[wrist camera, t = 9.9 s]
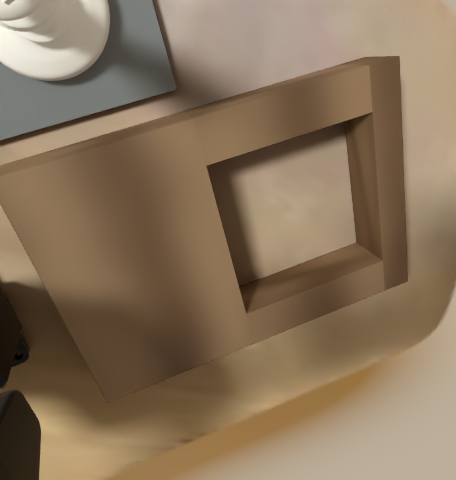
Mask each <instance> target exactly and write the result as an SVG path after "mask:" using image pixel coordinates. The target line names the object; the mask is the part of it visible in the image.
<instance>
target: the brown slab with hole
mask: <svg viewBox="0 0 456 480" xmlns="http://www.w3.org/2000/svg"><path fill="white" fill-rule="evenodd" d="M343 121H344V123H345V132H346V142H347V152H348V162H349V172H350V182H351V191H352V201H353V211H354V221H355V231H356V241H357V243H354V244H352V245H349V246H347V247H344V248H341V249H339V250H336V251H333V252H331V253H328V254H325V255H323V256H320V257H317V258H315V259H312V260H310V261H307V262H304V263H302V264H299V265H296V266H294V267H291V268H288V269H286V270H283V271H281V272H278V273H275V274H273V275H270V276H267V277H265V278H262V279H259V280H257V281H254V282H251V283H249V284H246V285H244V286H241V287H239V285H238V281H237V278H236V274H235V270H234V267H233V263H232V259H231V256H230V252H229V248H228V244H227V241H226V237H225V233H224V230H223V226H222V222H221V219H220V215H219V211H218V207H217V204H216V200H215V196H214V193H213V189H212V185H211V182H210V178H209V174H208V170H207V167H206V166H207V165H210V164H213V163H216V162H220V161H223V160H226V159H229V158H232V157H235V156H238V155H241V154H244V153H247V152H251V151H254V150H257V149H260V148H263V147H266V146H269V145H272V144H275V143H278V142H281V141H285V140H288V139H291V138H294V137H297V136H300V135H303V134H306V133H309V132H312V131H316V130H319V129H322V128H325V127H328V126H331V125H334V124H337V123H340V122H343ZM0 204H1V206H2V208H3V210H4V212H5V214H6V215H7V217H8V219H9V221H10V223H11V225H12V227H13V228H14V230H15V232H16V234H17V236H18V238H19V240H20V241H21V243H22V245H23V247H24V249H25V251H26V253H27V254H28V256H29V258H30V260H31V262H32V264H33V266H34V267H35V269H36V271H37V273H38V275H39V277H40V279H41V280H42V282H43V284H44V286H45V288H46V290H47V292H48V294H49V295H50V297H51V299H52V301H53V303H54V305H55V307H56V308H57V310H58V312H59V314H60V316H61V318H62V320H63V321H64V323H65V325H66V327H67V329H68V331H69V333H70V334H71V336H72V338H73V340H74V342H75V344H76V346H77V347H78V349H79V351H80V353H81V355H82V357H83V359H84V360H85V362H86V364H87V366H88V368H89V370H90V372H91V373H92V375H93V377H94V379H95V381H96V383H97V385H98V386H99V388H100V390H101V392H102V394H103V396H104V398H105V400H106V401H107V403H108V402H111V401H113V400H115V399H118V398H120V397H123V396H125V395H128V394H130V393H133V392H135V391H138V390H140V389H143V388H145V387H148V386H150V385H153V384H155V383H157V382H160V381H162V380H165V379H167V378H170V377H172V376H175V375H177V374H180V373H182V372H185V371H187V370H190V369H192V368H195V367H197V366H199V365H202V364H204V363H207V362H209V361H212V360H214V359H217V358H219V357H222V356H224V355H227V354H229V353H232V352H234V351H237V350H239V349H241V348H244V347H246V346H249V345H251V344H254V343H256V342H259V341H261V340H264V339H266V338H269V337H271V336H274V335H276V334H279V333H281V332H283V331H286V330H288V329H291V328H293V327H296V326H298V325H301V324H303V323H306V322H308V321H311V320H313V319H316V318H318V317H321V316H323V315H325V314H328V313H330V312H333V311H335V310H338V309H340V308H343V307H345V306H348V305H350V304H353V303H355V302H358V301H360V300H363V299H365V298H367V297H370V296H372V295H375V294H377V293H380V292H382V291H385V290H387V289H390V288H392V287H395V286H397V285H400V284H402V283H405V282H407V281H408V273H407V246H406V219H405V192H404V165H403V138H402V111H401V85H400V58H399V56H385V57H364V58H361V59H357V60H354V61H350V62H347V63H344V64H340V65H337V66H334V67H330V68H327V69H324V70H320V71H317V72H313V73H310V74H307V75H303V76H300V77H297V78H293V79H290V80H287V81H283V82H280V83H277V84H273V85H270V86H266V87H263V88H260V89H256V90H253V91H250V92H246V93H243V94H240V95H236V96H233V97H229V98H226V99H223V100H219V101H216V102H213V103H209V104H206V105H203V106H199V107H196V108H193V109H189V110H186V111H182V112H179V113H176V114H172V115H169V116H166V117H162V118H159V119H156V120H152V121H149V122H145V123H142V124H139V125H135V126H132V127H129V128H125V129H122V130H119V131H115V132H112V133H108V134H105V135H102V136H98V137H95V138H92V139H88V140H85V141H82V142H78V143H75V144H72V145H68V146H65V147H61V148H58V149H55V150H51V151H48V152H45V153H41V154H38V155H35V156H31V157H28V158H24V159H21V160H18V161H14V162H11V163H8V164H4V165H1V167H0Z"/></svg>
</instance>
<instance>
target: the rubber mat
mask: <svg viewBox="0 0 456 480" xmlns="http://www.w3.org/2000/svg"><path fill="white" fill-rule="evenodd" d="M108 4H109V11H110V28H109V34H108V38H107V42H106V45H105V47H104V49H103V51H102V53H101V55H100V56H99V58H98V59H97V60H96V61H95V63H94V64H93V65H92V66H91V67H89V68H88V69H87V70H85V71H84V72H82V73H81V74H79V75H77V76H74V77H72V78H69V79H65V80H58V81H45V80H38V79H33V78H30V77H27V76H24V75H22V74H19V73H17V72H15V71H13V70H12V69H10V68H8V67H7V66H5V65H4V64H3V63H1V62H0V140H3V139H6V138H10V137H13V136H17V135H20V134H24V133H27V132H31V131H34V130H38V129H41V128H45V127H48V126H52V125H55V124H59V123H62V122H66V121H69V120H72V119H76V118H79V117H83V116H86V115H90V114H93V113H97V112H100V111H104V110H107V109H111V108H114V107H118V106H121V105H125V104H128V103H132V102H135V101H139V100H142V99H145V98H149V97H152V96H156V95H159V94H163V93H166V92H170V91H173V90H177V88H176V84H175V81H174V77H173V74H172V70H171V66H170V63H169V59H168V56H167V52H166V49H165V45H164V41H163V38H162V34H161V31H160V27H159V24H158V20H157V16H156V13H155V9H154V6H153V2H152V0H108Z"/></svg>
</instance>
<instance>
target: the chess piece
mask: <svg viewBox="0 0 456 480" xmlns="http://www.w3.org/2000/svg"><path fill="white" fill-rule="evenodd" d="M109 28H110V11H109V4H108V0H0V62H1V63H3V64H4V65H5V66H7V67H8V68H10V69H12V70H13V71H15V72H17V73H19V74H22V75H24V76H27V77H30V78H33V79H38V80H45V81H58V80H65V79H69V78H72V77H74V76H77V75H79V74H81V73H82V72H84V71H85V70H87V69H88V68H89V67H91V66H92V65H93V64H94V63H95V61H96V60H97V59H98V58H99V56H100V55H101V53H102V51H103V49H104V47H105V45H106V42H107V38H108V34H109Z"/></svg>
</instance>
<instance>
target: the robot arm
mask: <svg viewBox="0 0 456 480" xmlns="http://www.w3.org/2000/svg"><path fill="white" fill-rule="evenodd" d="M21 331H22V325H21V323H20V322H19V320H18V318H17V317H16V315H15V313H14V312H13V310H12V308H11V307H10V305H9V303H8V302H7V300H6V298H5V297H4V295H3V293H2V292H1V290H0V389H2V388H4V387H5V385H6V383H7V381H8V378H9V374H10V370H11V367H13V366H16V365H19V364H21V363H23V362H25V361H26V360H27V359H28V357H29V353H30V348H29V346H28V344H27V342H26V341H25V339H24V337H23V336H22V334H21ZM17 351H19V352H22V353H23V354H21V355H17V354H15V352H17ZM40 443H41V428H40V423H39V420H38V418H37V417H36V415H35V413H34V412H33V410H32V409H31V407H30V405H29V404H28V402H27V401H26V399H25V397H24V396H23V394H22V393H21V392H20V391H18V390H11V391H7V392H4V393H0V480H39V466H40Z"/></svg>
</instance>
